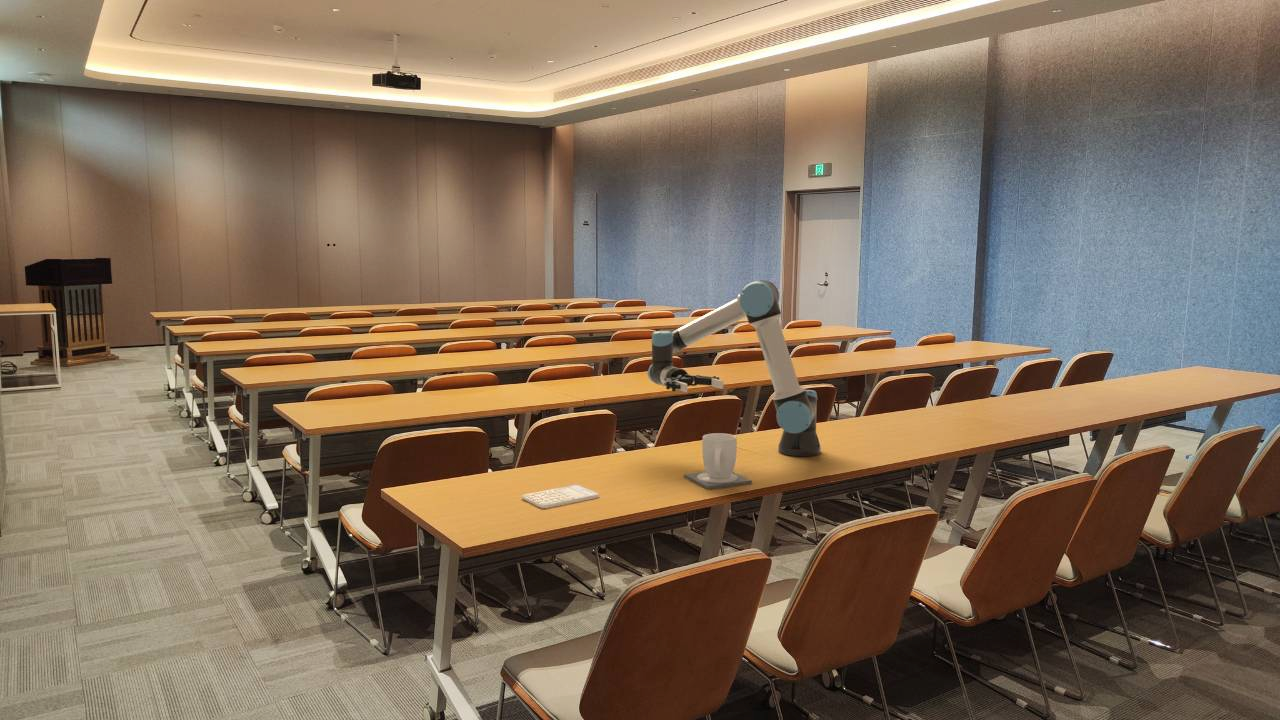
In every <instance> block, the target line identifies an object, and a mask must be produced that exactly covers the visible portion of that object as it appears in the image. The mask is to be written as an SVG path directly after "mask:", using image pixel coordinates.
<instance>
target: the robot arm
mask: <svg viewBox="0 0 1280 720" xmlns="http://www.w3.org/2000/svg"><path fill="white" fill-rule="evenodd" d="M779 301H780V293H779V290H778V288H777V286H776V285H775V284H774V283H773V282H771V281H769V280H765V279H763V280H761V279H760V280H754V281H752V282H750V283H748V284H746V285H745V286H744V287H743V288H742V290H741V292H740V293H739V294H738V295H737V298H735V299H732V300H731V301H728V302H727V303H725V304H724V305H722V306H719V307H718V308H716V309H714V310H712V311H710V312H707V313H706V314H704V315H702V316H701V317H698V318H696V319H695V320H692V321H691V322H688V323H686V324H684V325H683V326H681V327H679V328H678V329H675V330H673V331H670V330H657V331H653V332H652V334H651V360H652V361H651V365H649V367H648V370H647V377H648V379H649V380H650V381H651V382H653V383H655V384H656V385H659V386H663V387H666V388H665V389H666V390H671V391H672V392H676V390H677V391H679V392H684V393H688V387H689V386H691V387H695V386H698V385H699V386H711V387H712V388H717V389H719V390H720V389H721V390H724V380H723V379H722V380H721V379H720V377H718V376H716V375H713V376H706V375H699V374H696V375H692V374H689V373H688V371H686V370H685V369H683V368H679V367H677V366H674V363H673V362H674V359H673V357H674V356H673V355H674V354H676V353H679V352H681V351H682V350H683V349H686V348H687V347H689V346H691V345H693V344H695V343H698V342H700V341H701V340H703V339H705V338H707V337H709V336H711V335H713V334H715V333H717V332H719V331H722V330H723V329H725V328H727V327H729V326H732V325H733V324H735V323H737V322H740V321H741V320H743V319H745V318H746V319H747V322H748V324H749V325H750V326H751V327H752V328H754V329H755V333H756V336H757V338H758V342H759V345H760V348H761V351H762V354H763V358H764V361H765V363H766V369H767V371H768V373H769V377H770V380H771V383H772V386H773V389H774V395H773V398H772V400H773V405H774V406H775V410H776V416H775V417H776V421H777V424H778V426H779V427H780V429H782V430H783V431H782V435H781V438H780V441H779V444H778V453H780V454H783V455H786V456H793V457H812V456H817V455H819V454H821V443H820V440H819V437H818V434H817V433H818V432H817V406H818V405H817V401H818V395H817V394H818V393H817V391H816V390H813V389H806V388H805V387H802V386H801V385H800V383H799V379H798V377H797V374H796V370H795V368H794V364H793V362H792V358H791V355H790V353H789V352H790V351H789V349H788V346H787V342H786V339H785V336H784V332H783V330H782V327H781V324H780V321H779V320H780V319H781V316H782V312H781V309H780V305H779Z"/></svg>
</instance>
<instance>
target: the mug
mask: <svg viewBox="0 0 1280 720" xmlns="http://www.w3.org/2000/svg"><path fill="white" fill-rule="evenodd" d="M737 449H738V441H737V436H736V435H734V434H731V433H725V432H723V433H719V432H718V433H717V432H716V433H715V432H713V433H708V434H704V435H703V436H702V451H701V452H702V459H703V460H702V461H703V466H704V470H705V471H706V472H707V474H708V475H709V477H711V478H715V479H725V478H728V477H730V475H731V474H732V472H734V470H735V466H736V461H737V452H738V451H737Z"/></svg>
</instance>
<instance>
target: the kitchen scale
mask: <svg viewBox="0 0 1280 720" xmlns="http://www.w3.org/2000/svg"><path fill="white" fill-rule="evenodd" d="M683 478H685V479H686V480H688V481H690V482H692V483H694V484H696V485H697V486H700V487H701V488H703V489H705V490H713V489H714V490H715V489H716V490H717V489H722V488H729V487H737V486H744V485H752V483H753V482H752V481H753V480H751V479H750V478H748V477H745V476H743V475H741V474H739V473H736V472H735V471H733V472H732V474H731V475H730V477H728V478H725V479H715V478H711V477H709V475H708V474H707V472H706V470H705V471H700V472H699V471H698V472H689V473H683Z"/></svg>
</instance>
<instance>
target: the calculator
mask: <svg viewBox="0 0 1280 720" xmlns="http://www.w3.org/2000/svg"><path fill="white" fill-rule="evenodd" d="M522 498H523V499H524V500H523V499H522ZM598 498H600V494H599V492H597V491H595V490H592V489H589V488H587V487H584V486H582V485H579V484H573V485H572V484H571V485H567V486H562V487H556V488H551V489H546V490H541V491H535V492H530V493H525V494H522V495H521V499H522V500H523V501H525V500H526V501H525V502H527V501H528V502H527V503H529V502H530V503H529V504H531V503H532V504H531V505H533V504H534V505H533V506H535V505H536V506H535V507H537V506H538V507H537V508H539V507H540V508H539V509H541V508H546V509H550V507H551V508H556V507H559V506H560V505H561V506H566V505H571V504H575V503H580V502H584V501H585V502H586V501H589V500H593V499H598ZM555 506H556V507H555ZM561 506H560V507H561Z"/></svg>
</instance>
